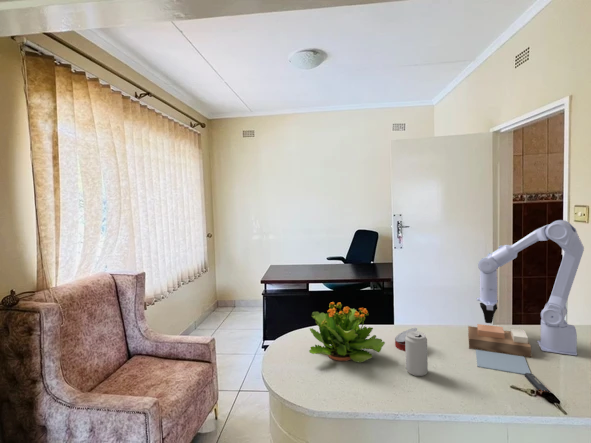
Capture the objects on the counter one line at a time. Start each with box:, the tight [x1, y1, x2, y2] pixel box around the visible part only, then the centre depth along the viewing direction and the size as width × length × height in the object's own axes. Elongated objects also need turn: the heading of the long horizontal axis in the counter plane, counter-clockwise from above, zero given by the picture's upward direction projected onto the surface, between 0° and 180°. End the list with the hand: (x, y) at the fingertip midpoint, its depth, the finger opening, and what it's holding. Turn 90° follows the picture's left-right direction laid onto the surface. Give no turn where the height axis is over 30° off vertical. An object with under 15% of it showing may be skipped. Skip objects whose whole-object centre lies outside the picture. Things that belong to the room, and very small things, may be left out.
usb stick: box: [524, 372, 552, 394], centre depth 93 cm, size 10×3×2 cm, turn 169°
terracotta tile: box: [476, 323, 505, 339], centre depth 119 cm, size 8×6×2 cm
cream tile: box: [510, 328, 529, 344], centre depth 114 cm, size 4×7×2 cm, turn 154°
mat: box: [475, 349, 531, 376], centre depth 106 cm, size 14×12×1 cm
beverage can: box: [404, 330, 429, 377], centre depth 102 cm, size 6×6×12 cm
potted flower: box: [308, 301, 386, 363], centre depth 115 cm, size 25×24×18 cm
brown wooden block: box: [467, 325, 532, 358], centre depth 117 cm, size 18×12×4 cm, turn 64°
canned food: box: [394, 327, 418, 352], centre depth 119 cm, size 10×9×9 cm
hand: (488, 322), depth 127 cm, fingers closed
